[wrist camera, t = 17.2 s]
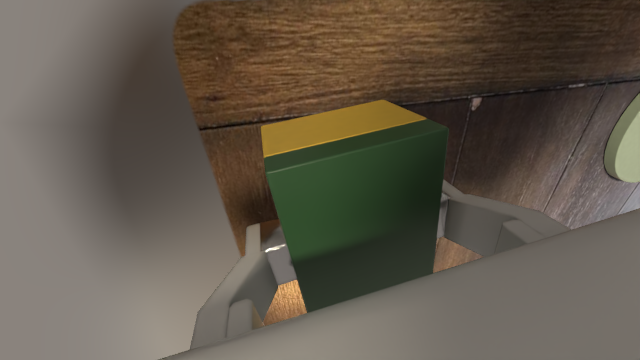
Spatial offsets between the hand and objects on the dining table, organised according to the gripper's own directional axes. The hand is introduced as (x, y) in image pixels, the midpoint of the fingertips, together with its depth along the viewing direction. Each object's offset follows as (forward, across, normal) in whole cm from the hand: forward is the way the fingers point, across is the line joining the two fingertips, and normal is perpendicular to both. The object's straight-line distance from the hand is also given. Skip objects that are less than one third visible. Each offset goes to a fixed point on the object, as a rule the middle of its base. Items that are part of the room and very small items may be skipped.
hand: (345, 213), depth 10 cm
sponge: (+2, 0, 0) cm, 2 cm away
